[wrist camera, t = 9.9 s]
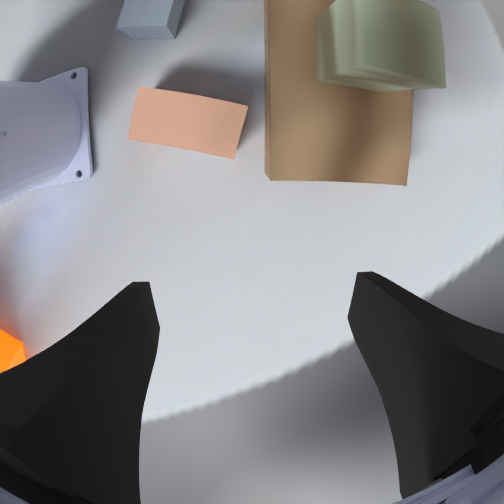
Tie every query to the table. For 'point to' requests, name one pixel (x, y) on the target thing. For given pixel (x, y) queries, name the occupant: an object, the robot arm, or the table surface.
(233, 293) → the table surface
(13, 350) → the orange juice
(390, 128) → the walnut slab
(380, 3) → the sage block
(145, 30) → the slate brick
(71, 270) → the table surface
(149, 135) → the terracotta brick
